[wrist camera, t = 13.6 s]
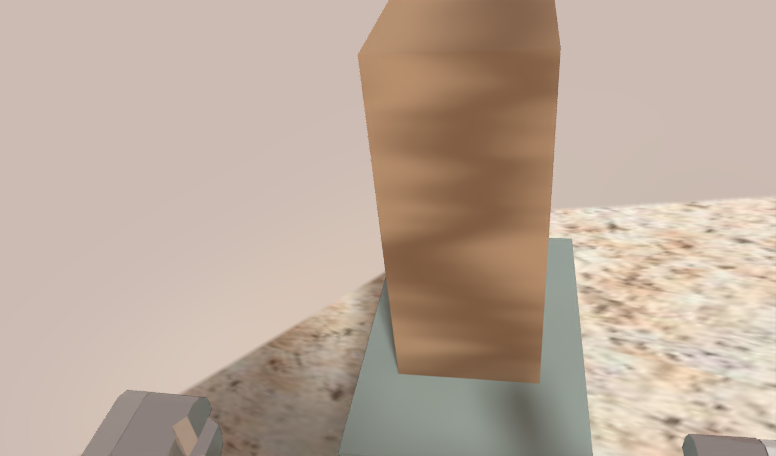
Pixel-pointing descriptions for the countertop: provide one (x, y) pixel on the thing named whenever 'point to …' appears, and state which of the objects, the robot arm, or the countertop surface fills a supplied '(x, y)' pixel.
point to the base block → (478, 392)
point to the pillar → (464, 179)
